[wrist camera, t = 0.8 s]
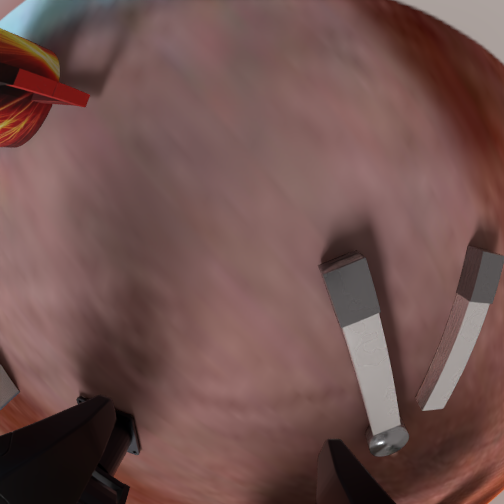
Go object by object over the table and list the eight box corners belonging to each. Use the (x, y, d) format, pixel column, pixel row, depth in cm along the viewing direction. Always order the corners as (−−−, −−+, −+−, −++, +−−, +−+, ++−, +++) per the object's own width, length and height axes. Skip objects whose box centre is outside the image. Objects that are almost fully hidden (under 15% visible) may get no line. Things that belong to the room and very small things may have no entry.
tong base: (436, 396, 20) (444, 409, 18) (414, 398, 20) (421, 412, 18) (489, 250, 17) (505, 256, 15) (468, 245, 17) (483, 251, 15)
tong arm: (403, 432, 20) (409, 446, 18) (368, 446, 21) (372, 461, 19) (363, 247, 17) (373, 254, 15) (310, 268, 18) (314, 278, 16)
